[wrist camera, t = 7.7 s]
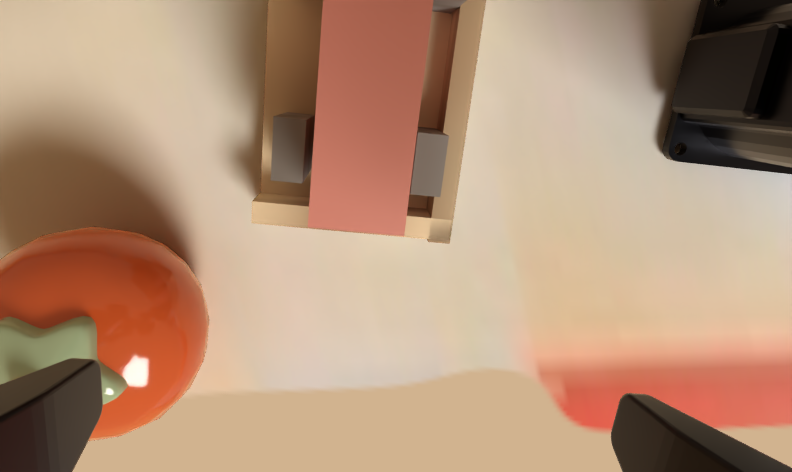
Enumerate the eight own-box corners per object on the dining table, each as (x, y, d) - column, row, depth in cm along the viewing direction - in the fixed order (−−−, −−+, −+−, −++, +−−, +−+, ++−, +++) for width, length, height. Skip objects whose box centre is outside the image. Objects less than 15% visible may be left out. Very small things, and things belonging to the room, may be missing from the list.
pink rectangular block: (345, -86, 16) (335, -191, 10) (420, -74, 17) (454, -170, 11) (325, 181, 19) (307, 227, 13) (390, 188, 19) (404, 236, 13)
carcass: (486, -102, 18) (520, -155, 14) (439, 225, 21) (456, 256, 17) (278, -135, 17) (254, -200, 13) (264, 209, 20) (241, 237, 16)
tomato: (63, 179, 19) (-132, 238, 12) (252, 236, 20) (186, 324, 13) (35, 343, 21) (-150, 487, 14) (209, 387, 22) (129, 543, 15)
